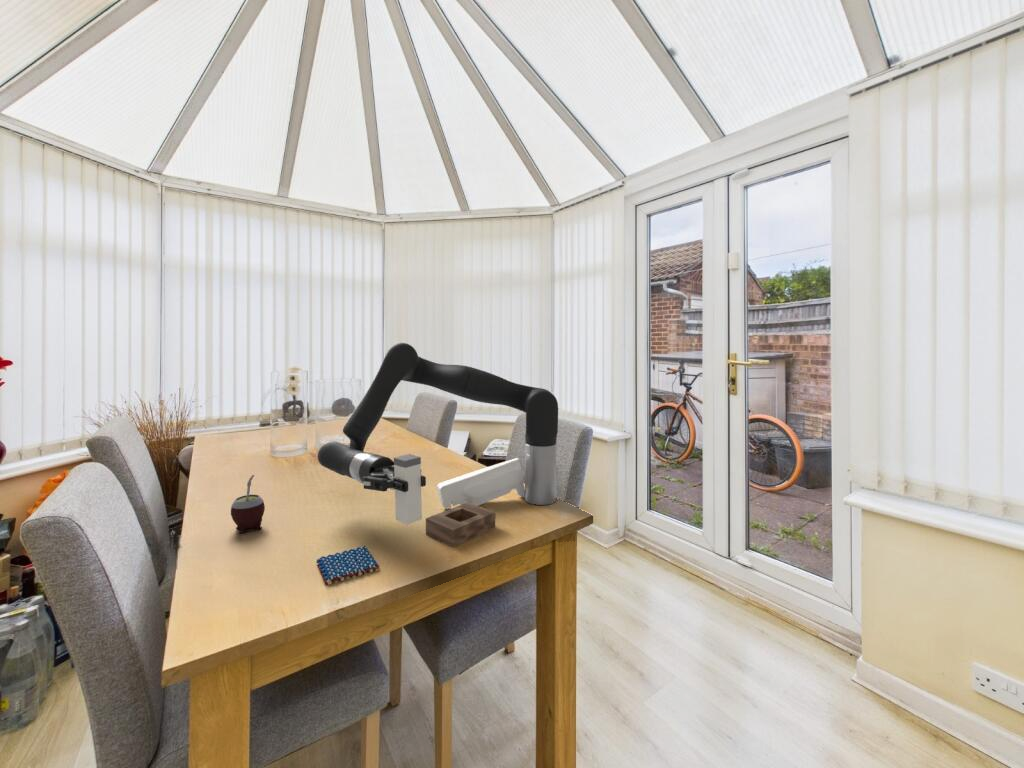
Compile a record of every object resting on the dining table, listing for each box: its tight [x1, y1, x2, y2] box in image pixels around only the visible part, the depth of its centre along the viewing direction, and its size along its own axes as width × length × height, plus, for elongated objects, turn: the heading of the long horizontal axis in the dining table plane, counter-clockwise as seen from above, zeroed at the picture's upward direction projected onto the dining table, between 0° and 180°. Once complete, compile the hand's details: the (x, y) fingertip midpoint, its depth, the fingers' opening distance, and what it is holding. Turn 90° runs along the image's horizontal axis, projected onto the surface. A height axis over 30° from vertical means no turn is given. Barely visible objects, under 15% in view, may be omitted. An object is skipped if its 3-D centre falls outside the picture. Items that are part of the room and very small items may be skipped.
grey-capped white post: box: [393, 453, 423, 526], centre depth 91 cm, size 4×4×14 cm
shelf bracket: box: [436, 457, 525, 510], centre depth 121 cm, size 6×25×13 cm, turn 115°
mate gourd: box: [230, 474, 266, 535], centre depth 103 cm, size 8×8×15 cm
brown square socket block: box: [425, 503, 496, 548], centre depth 103 cm, size 14×10×4 cm
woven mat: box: [315, 545, 380, 586], centre depth 86 cm, size 10×11×2 cm
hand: (415, 484), depth 89 cm, fingers closed on grey-capped white post, 4 cm apart
